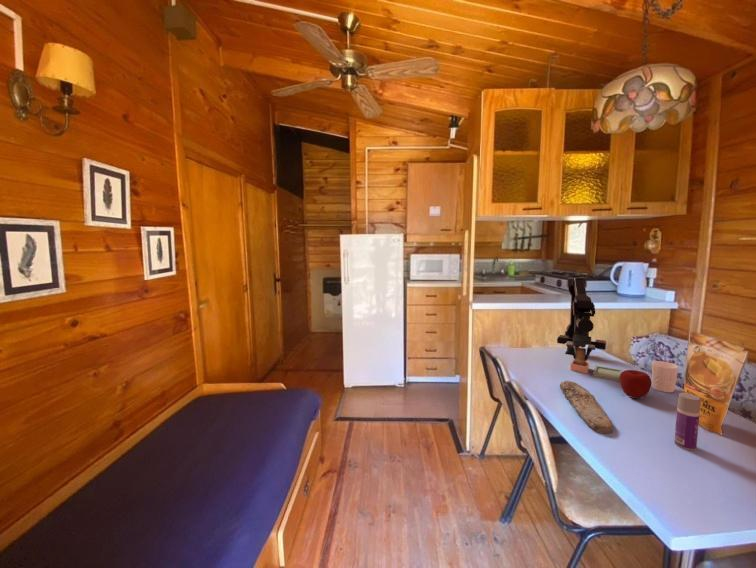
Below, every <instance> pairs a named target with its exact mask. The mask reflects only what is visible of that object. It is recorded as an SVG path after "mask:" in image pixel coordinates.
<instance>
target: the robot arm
mask: <svg viewBox="0 0 756 568" xmlns="http://www.w3.org/2000/svg"><path fill="white" fill-rule="evenodd" d="M565 285H566V288H567V291H568V293H569V294H570V313H569V314H570V316H569V317H570V318H569V324H568V325H567V326H566V330H565V332H564V335H563V334H560V335H559V336H558V337H557V339H556V343H557V344H560V345H561V344H562V345H565V344H566V345H565V346H566V351H565V353H564V354H565V355H570V356H573V357H572V358H573V360H575V354H576V348H577V347H582V348H586V346H587V348H586V358H585V362H588V359H589V356H590V354H591V352H592V351H595V350H602V351H604V350H606V348H607V341H606V340H603V339H597V338H596V339H595V341H594V340H593V341H592V336H590V332H591V331H593V329H594V323H593V320H591V317H595V315H596V307H595V304H594V302H593V301H592V298H591V297H590V296H588V295H587V290H586V289H587V285H588V280H587V279H585V277H573V278H569V279H567V280H566V283H565Z"/></svg>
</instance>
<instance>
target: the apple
mask: <svg viewBox="0 0 756 568" xmlns="http://www.w3.org/2000/svg"><path fill="white" fill-rule="evenodd" d="M619 383H620V387H621V389H622V391H623V392H624V394H625V395H626V396H628V397H629V398H632V399H641V398H644V397H645V396H646V395H648V394H649V392H650V390H651V388H652V377H650V375H649V374H647V373H646V372H644V371H641V370H636V369H626V370H622V373H621V374H620V381H619Z"/></svg>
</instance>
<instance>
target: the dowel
mask: <svg viewBox="0 0 756 568" xmlns="http://www.w3.org/2000/svg"><path fill="white" fill-rule="evenodd" d="M586 353H587V348H586V347H577V348H576V354H575V359H574V360H575V364H577V365H583V366H585V362H586V361H585V358H586Z"/></svg>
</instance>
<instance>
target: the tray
mask: <svg viewBox="0 0 756 568" xmlns="http://www.w3.org/2000/svg"><path fill="white" fill-rule="evenodd" d="M622 372H623V370H622V369H618V368H613V367H607V366H602V365H601V366H600V365H595V366H594V369H593V371H592V377H594V378H600V379H604V380H605V379H606V380H610V381H615V382H620V374H621V373H622Z"/></svg>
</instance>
